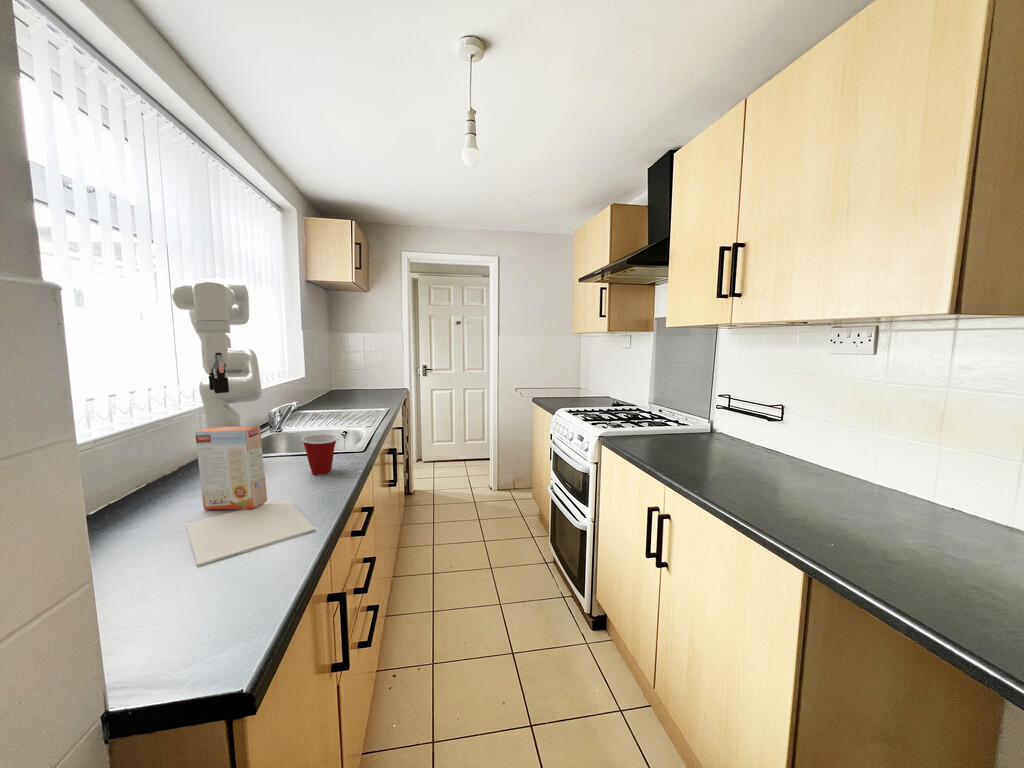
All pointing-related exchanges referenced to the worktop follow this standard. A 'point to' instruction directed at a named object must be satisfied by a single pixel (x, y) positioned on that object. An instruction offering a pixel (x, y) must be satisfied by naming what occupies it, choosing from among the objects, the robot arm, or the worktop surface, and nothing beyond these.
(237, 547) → the mat
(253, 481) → the cracker box
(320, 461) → the plastic cup
